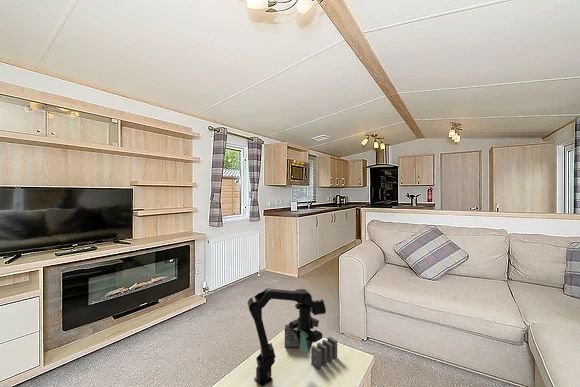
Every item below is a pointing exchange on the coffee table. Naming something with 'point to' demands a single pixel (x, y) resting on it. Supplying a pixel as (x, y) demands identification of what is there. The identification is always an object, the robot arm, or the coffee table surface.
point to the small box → (290, 338)
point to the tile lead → (304, 342)
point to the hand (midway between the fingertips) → (305, 347)
